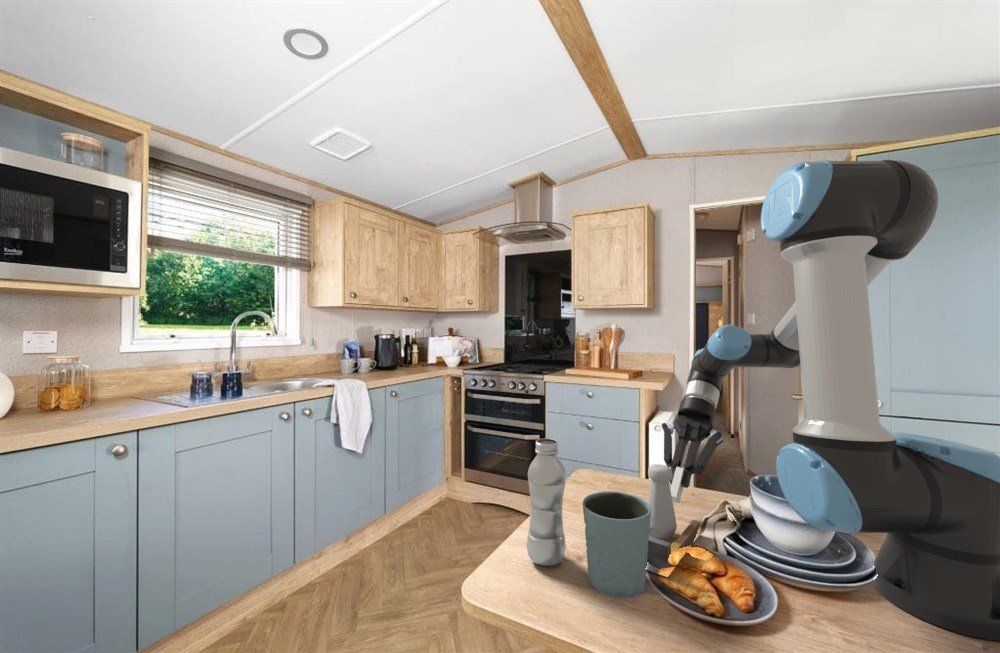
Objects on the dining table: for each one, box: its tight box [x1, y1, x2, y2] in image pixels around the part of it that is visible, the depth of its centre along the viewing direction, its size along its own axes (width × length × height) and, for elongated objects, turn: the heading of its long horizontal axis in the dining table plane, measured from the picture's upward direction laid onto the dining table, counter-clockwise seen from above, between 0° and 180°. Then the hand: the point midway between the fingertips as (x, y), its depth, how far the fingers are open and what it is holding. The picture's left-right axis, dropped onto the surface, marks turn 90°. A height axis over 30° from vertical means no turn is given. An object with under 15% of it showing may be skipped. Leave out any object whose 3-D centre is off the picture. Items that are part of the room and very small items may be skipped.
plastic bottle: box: [526, 438, 567, 567], centre depth 70 cm, size 6×7×20 cm
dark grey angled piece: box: [647, 519, 701, 569], centre depth 76 cm, size 11×18×5 cm, turn 140°
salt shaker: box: [646, 463, 678, 542], centre depth 79 cm, size 6×6×13 cm
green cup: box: [582, 490, 651, 599], centre depth 65 cm, size 10×10×12 cm
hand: (674, 499), depth 85 cm, fingers closed
